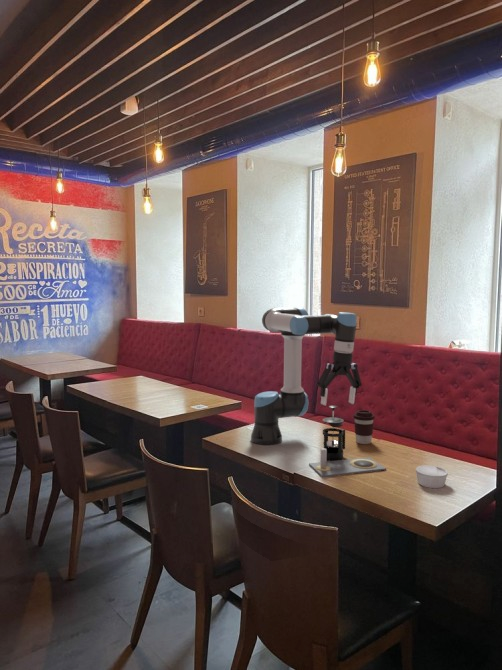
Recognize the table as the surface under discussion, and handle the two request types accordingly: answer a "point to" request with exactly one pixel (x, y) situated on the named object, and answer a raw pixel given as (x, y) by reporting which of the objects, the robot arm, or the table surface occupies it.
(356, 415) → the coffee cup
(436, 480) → the ramekin
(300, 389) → the robot arm
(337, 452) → the french press
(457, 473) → the table surface
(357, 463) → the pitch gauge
